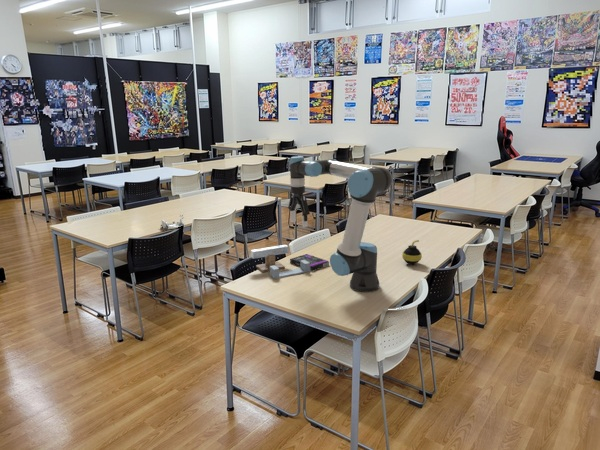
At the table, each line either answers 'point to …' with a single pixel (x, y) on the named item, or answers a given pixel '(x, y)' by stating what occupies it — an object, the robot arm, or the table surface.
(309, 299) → the table surface
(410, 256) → the bomb
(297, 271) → the rack
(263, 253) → the bar
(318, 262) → the box
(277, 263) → the stand
